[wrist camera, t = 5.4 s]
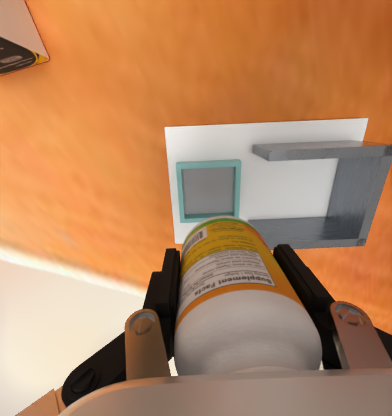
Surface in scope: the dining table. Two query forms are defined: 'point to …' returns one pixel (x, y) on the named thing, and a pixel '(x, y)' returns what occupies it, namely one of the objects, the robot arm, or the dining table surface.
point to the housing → (340, 197)
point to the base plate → (250, 171)
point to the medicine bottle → (18, 38)
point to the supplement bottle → (238, 306)
